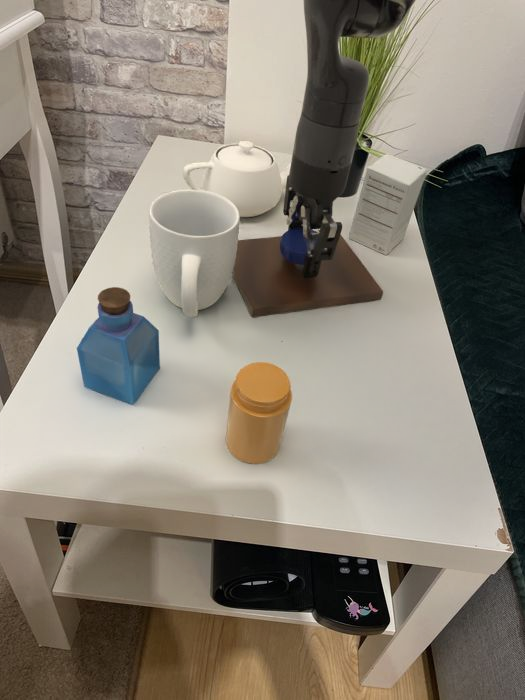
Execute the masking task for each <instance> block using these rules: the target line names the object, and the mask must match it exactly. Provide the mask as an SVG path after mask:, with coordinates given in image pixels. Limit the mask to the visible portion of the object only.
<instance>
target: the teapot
mask: <svg viewBox="0 0 525 700" xmlns="http://www.w3.org/2000/svg"><path fill="white" fill-rule="evenodd" d="M290 167H291V161H290V163H288V165H287V167H286V168H285V169H284V170H282V171H280V169H279V166H278V163H277V160H276V158H275V156H274V154H272V153H271V152H270V151H269V150H267V148H264V147H262V146H259V145H256V144H254V143H253V142H252V141H251V140H250V141H249V140H240V141H239V142H237V143H236V142H233V143H227V144H223V145H221V146H219V147H218V148H216V149H215V151H214V152H213V153H212V155H211V157H210V159H209V161H198V162H192V163H188V164H186V165H185V166H184V167H183V168H182V177H183V180H184V182H185V183H186V184H187V186H188V187H189V188H190V189H194V190H204V191H209V192H213V193H216V194H219V195H221V196H223V197H225V198H227V199H228V200H230V201H231V202H232V203H233V204H234V205H235V206H236V207H237V209H238V211H239V215H240V218H250V217H258V216H260V215H263V214H265V213H266V212H269V211H270V210H271V209H273V208H274V207H275V206H276V205H277V204H278V203H279V201H280V200H281V197H282V195H283V194H282V193H283V190H286V182H287V176H288V175H289V173H290ZM202 169H203V170H204V171H203V174H202V180H201V187H200V186H198V185H197V184H196V183H195V182H194V181H193V180H192V178H191V174H190V173H191V172H192V171H196V170H202Z"/></svg>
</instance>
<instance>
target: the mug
mask: <svg viewBox="0 0 525 700" xmlns="http://www.w3.org/2000/svg"><path fill="white" fill-rule="evenodd" d="M148 218H149V220H148V221H149V227H148V228H149V241H150V251H151V259H152V266H153V270H154V273H155V275H156V276H155V277H156V279H157V282H158V284H159V286H160V288H161V291H162V293H163V294H164V295H165V296H166V298H167V299H168V300H169V301H170V302H171V303H172V304H173V305H175V306H177V308H181V309H182V313H183V315H184V316H186V317H188V318H189V317H190V318H195V317H197V316H198V315H199V310H204V309H207V308H209V307H211V306H212V305H214V304H215V303H216V302H217V301H218V300H219V299H220V298H221V297H222V296H223V294H224V292H225V291H226V290H227V287H228V286H229V283H230V281H231V278H232V272H233V267H234V264H235V259H236V252H237V244H238V240H239V234H240V219H241V217H240V215H239V211H238V209H237V207H236V206H235V205H234V204H233V203H232V202H231V201H230V200H228V199H227V198H225V197H223V196H221V195H219V194H216V193H213V192H209V191H204V190H194V189H192V188H190V189H177V190H173V191H169V192H168V191H167V192H166V193H163V194H161V195H159V196H158V197H156V198H155V199H154V200H153V201H152V202H151V204H150V206H149V211H148Z"/></svg>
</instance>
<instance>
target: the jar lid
mask: <svg viewBox="0 0 525 700" xmlns="http://www.w3.org/2000/svg"><path fill="white" fill-rule="evenodd" d="M310 232H311V233H319V231H318V230H315V229H312V230H311V229H310ZM281 236H282V239H281V243H280V251H281V255H282V256H283V257H284V258H285V259H287V260H288V261H290V262H293V263H296V264H300V265H304V262H305V257H306V254H307V241H306V240H305V239H304V238H303V228H297V229H291V230H289V231H288V230H287V231H285V232H284V233H283V234H282V235H281ZM316 242H317V240H314V242H313V244H314V248H315V245H316Z"/></svg>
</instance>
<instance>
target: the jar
mask: <svg viewBox="0 0 525 700" xmlns="http://www.w3.org/2000/svg"><path fill="white" fill-rule="evenodd" d="M291 387H292V386H291V381H290V378H289V376H288V374H287V373H286V371H284V369H282V368H281V367H279V366H277V365H276V364H273V363H270V362H265V361H264V362H263V361H257V362H251V363H249V364H247V365H245V366H243V367H242V368H240V370H239V371H238V372H237V373H236V376H235V379H234V380H233V382H232V384H231V387H230V394H229V403H228V411H227V420H226V430H225V436H224V437H225V439H224V440H225V445H226V447H227V450H228V451H229V453H230V454H231V455H232V456H233V457H234V458H235V459H237V460H239V461H241V462H242V463H246V464H253V465H256V464H264V463H266V462H269V461H270V460H272V459H273V458H274V457H276V455H277V454H278V453H279V452H280V449H281V445H282V442H283V441H282V440H283V437H284V433H285V428H286V425H287V420H288V417H289V416H288V415H289V413H290V408H291V404H292V400H293V393H292V389H291Z"/></svg>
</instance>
